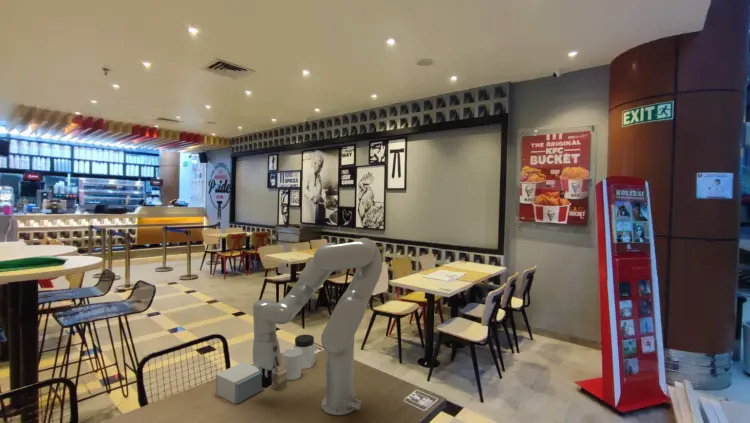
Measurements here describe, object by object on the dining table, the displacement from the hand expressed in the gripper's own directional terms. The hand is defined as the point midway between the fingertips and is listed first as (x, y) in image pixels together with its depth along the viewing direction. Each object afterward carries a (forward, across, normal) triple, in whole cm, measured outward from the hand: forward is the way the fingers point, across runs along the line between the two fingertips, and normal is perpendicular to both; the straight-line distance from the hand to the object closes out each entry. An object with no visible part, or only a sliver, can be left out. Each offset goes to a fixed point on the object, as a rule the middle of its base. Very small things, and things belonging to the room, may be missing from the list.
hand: (266, 386), depth 126 cm
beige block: (+6, +4, -9) cm, 12 cm away
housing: (+5, +14, +1) cm, 15 cm away
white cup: (+6, +6, -18) cm, 20 cm away
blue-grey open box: (+5, +13, +1) cm, 14 cm away
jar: (+6, +9, -28) cm, 30 cm away
